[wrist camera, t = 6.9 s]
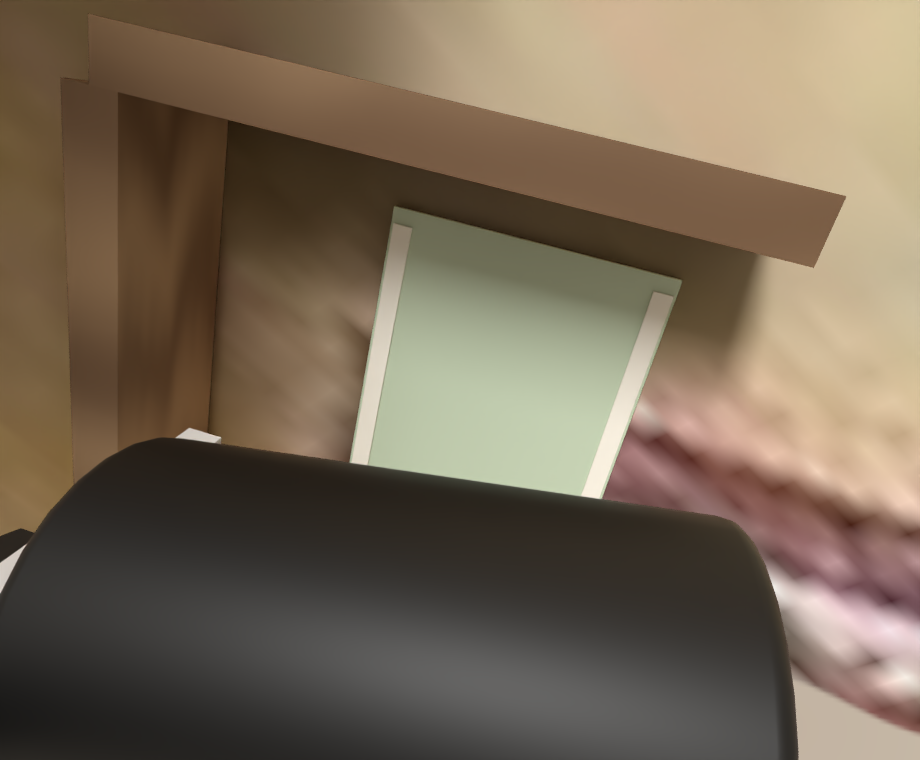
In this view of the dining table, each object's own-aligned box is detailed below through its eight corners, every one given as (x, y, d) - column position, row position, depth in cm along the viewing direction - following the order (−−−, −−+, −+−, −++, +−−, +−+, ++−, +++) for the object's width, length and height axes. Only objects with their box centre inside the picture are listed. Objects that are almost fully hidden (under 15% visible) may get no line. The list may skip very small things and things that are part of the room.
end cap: (718, 434, 12) (868, 775, 5) (654, 713, 14) (706, 1157, 8) (223, 372, 13) (-102, 581, 7) (248, 633, 16) (28, 954, 10)
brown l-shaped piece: (187, 38, 19) (58, 6, 14) (777, 180, 17) (846, 196, 13) (169, 479, 25) (75, 555, 20) (600, 613, 23) (604, 729, 19)
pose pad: (395, 205, 19) (393, 206, 19) (681, 279, 19) (683, 281, 18) (345, 495, 24) (342, 499, 23) (575, 565, 23) (575, 570, 23)
